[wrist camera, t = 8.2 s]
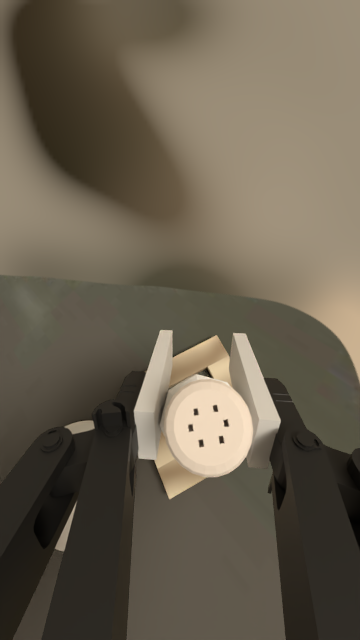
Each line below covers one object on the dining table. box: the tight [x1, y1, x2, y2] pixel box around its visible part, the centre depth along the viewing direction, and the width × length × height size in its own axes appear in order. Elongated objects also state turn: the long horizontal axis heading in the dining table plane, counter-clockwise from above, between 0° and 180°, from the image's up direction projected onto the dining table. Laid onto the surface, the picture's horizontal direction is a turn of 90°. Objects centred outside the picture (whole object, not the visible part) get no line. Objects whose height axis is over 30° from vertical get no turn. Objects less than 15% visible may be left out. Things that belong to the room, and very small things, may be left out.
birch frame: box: [145, 335, 232, 499], centre depth 29 cm, size 14×14×2 cm
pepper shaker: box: [160, 374, 253, 477], centre depth 12 cm, size 5×5×11 cm
